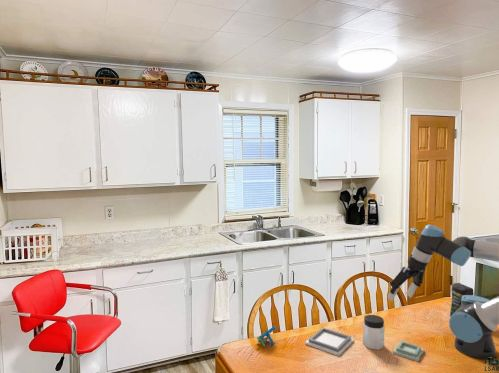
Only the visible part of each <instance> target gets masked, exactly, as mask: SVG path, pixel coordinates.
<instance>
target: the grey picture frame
mask: <svg viewBox="0 0 499 373" xmlns="http://www.w3.org/2000/svg"><path fill="white" fill-rule="evenodd" d="M354 341H355V338H352V336H351V335H348V334H345V333H342V332H339V331H337V330H331V329H329V328H327V327H321V328H320V329H318V331H316V332H315V333H314V334H313V335H312V336H310V337H309V338H308V339H307V340H306V341H305V345H307V346H310V347H313V348H314V349H315V348H316V349H318V350H321V351H324V352H326V353H329V354H332V355H335V356H338V357H340V356H341V355H342V354H343V353H344V352H345V351H346V350H347V349H348V348H349V347H350V346H351V344H353V343H354Z"/></svg>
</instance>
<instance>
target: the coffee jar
mask: <svg viewBox="0 0 499 373" xmlns="http://www.w3.org/2000/svg"><path fill="white" fill-rule="evenodd" d="M450 290H451V306H450V313H449V317H450V318H451V315H452V314H453V313H455V312H456V311H457V310H458V309H459V308H460V307H461V299H462V296H464V295H473V296H475V294H474V289H473V288H472V287H470V286H467V285H466V284H463V283H461V282H455V283H453V284H452V285H451V289H450Z"/></svg>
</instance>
